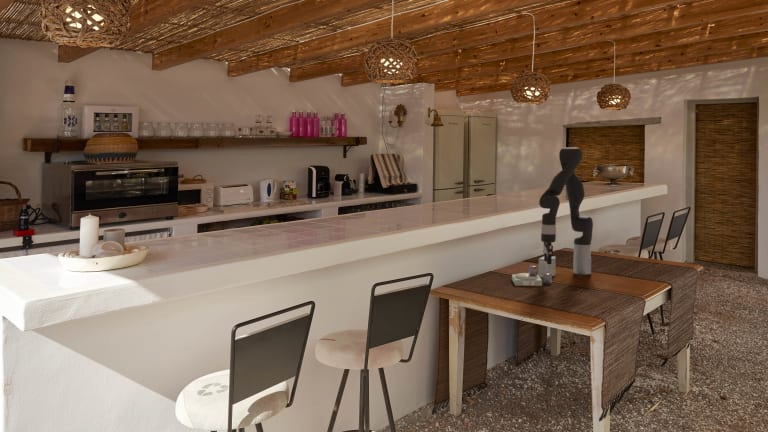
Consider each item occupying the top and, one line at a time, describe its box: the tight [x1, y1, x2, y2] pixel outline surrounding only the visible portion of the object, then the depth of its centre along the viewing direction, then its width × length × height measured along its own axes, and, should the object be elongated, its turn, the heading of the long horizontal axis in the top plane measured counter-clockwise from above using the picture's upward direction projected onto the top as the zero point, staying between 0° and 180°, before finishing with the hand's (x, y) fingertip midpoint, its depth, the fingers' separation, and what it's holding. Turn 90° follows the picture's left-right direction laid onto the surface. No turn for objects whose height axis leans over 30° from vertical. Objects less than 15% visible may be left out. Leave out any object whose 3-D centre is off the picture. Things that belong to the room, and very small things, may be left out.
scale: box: [511, 272, 543, 287], centre depth 319 cm, size 14×14×4 cm
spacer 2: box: [542, 273, 553, 285], centre depth 318 cm, size 4×4×5 cm
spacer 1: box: [528, 265, 538, 276], centre depth 318 cm, size 4×4×5 cm
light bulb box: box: [538, 255, 557, 278], centre depth 335 cm, size 11×7×11 cm, turn 146°
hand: (547, 262), depth 317 cm, fingers open, 8 cm apart
